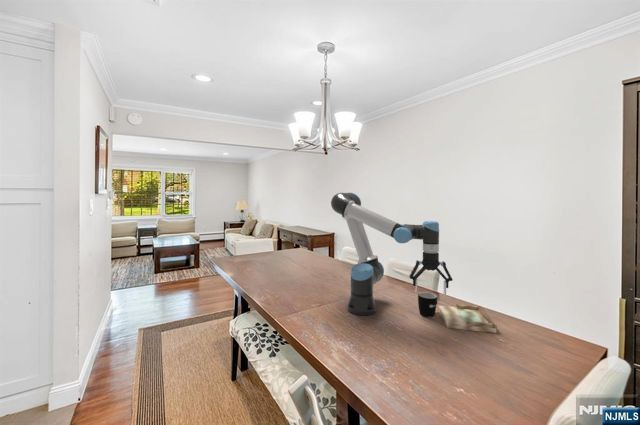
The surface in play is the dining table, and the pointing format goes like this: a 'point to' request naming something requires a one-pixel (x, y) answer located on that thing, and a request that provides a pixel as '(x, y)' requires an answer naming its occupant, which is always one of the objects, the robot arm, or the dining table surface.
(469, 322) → the board
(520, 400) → the dining table surface
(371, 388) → the dining table surface
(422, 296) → the mug
